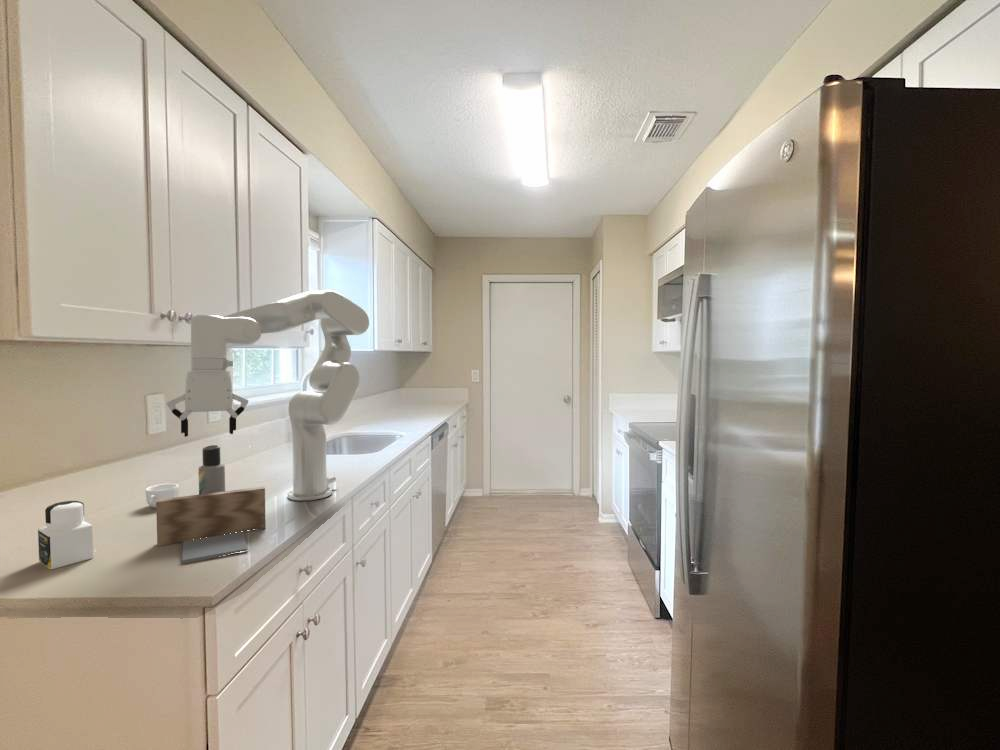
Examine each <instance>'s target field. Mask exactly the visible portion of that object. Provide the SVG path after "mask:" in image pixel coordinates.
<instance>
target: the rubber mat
mask: <svg viewBox="0 0 1000 750" xmlns="http://www.w3.org/2000/svg"><path fill="white" fill-rule="evenodd" d="M244 533H245V532H237V533H231V534H225V535H219V536H213V537H207V538H201V539H194V540H188V541H183V542H182V543H183V544H182V556H181V557H182V558H181V564H182V565H186V564H189V563H190V562H191V563H195V562H202V561H207V560H211V558H213V559H216V558H215V557H218V558H220V557H219V556H223V555H228V554H231V553H235V552H240V551H246V550H248V549H249V547H248V544H247V541H246V536H245V534H244ZM248 551H249V550H248ZM206 559H207V560H206ZM185 563H186V564H185Z"/></svg>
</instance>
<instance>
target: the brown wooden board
mask: <svg viewBox="0 0 1000 750" xmlns="http://www.w3.org/2000/svg"><path fill="white" fill-rule="evenodd" d="M155 509H156V510H155V511H156V512H155V513H156V515H155V516H156V547H161V546H167V545H173V543H174V544H179V543H178V542H180V543H183V541H188V540H193V539H200V538H206V537H213V536H219V535H224V534H230V533H235V532H241V531H247V530H253V529H260V530H262V529H261V528H266V488H265V486H258V487H250V488H241V489H233V490H225V491H224V492H216V493H208V494H199V493H198V494H192V495H185V496H184V495H183V496H178V497H175V498H167V499H159V500H157V501H156V508H155Z"/></svg>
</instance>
